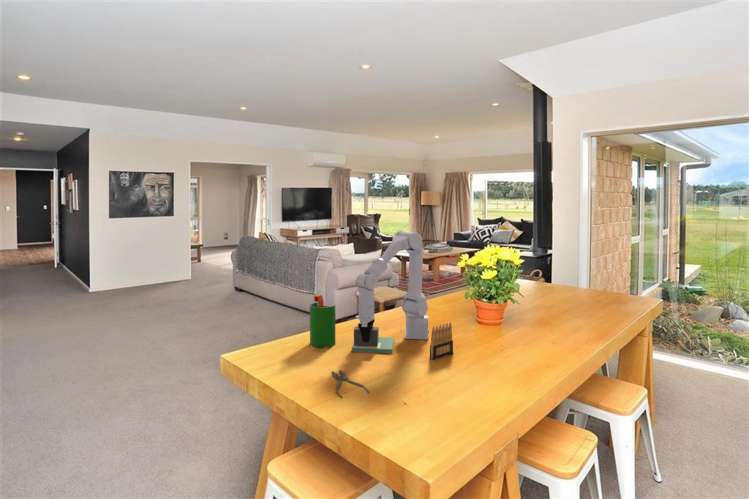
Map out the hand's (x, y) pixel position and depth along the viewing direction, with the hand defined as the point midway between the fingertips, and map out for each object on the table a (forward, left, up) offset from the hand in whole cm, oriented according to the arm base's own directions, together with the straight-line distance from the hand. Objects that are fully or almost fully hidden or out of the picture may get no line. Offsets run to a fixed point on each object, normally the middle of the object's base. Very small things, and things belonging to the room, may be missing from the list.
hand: (366, 340), depth 174 cm
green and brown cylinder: (+18, -4, -4) cm, 19 cm away
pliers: (+4, +33, -4) cm, 33 cm away
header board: (-2, -3, -4) cm, 6 cm away
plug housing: (0, 0, -1) cm, 1 cm away
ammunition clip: (-28, +5, -4) cm, 29 cm away
